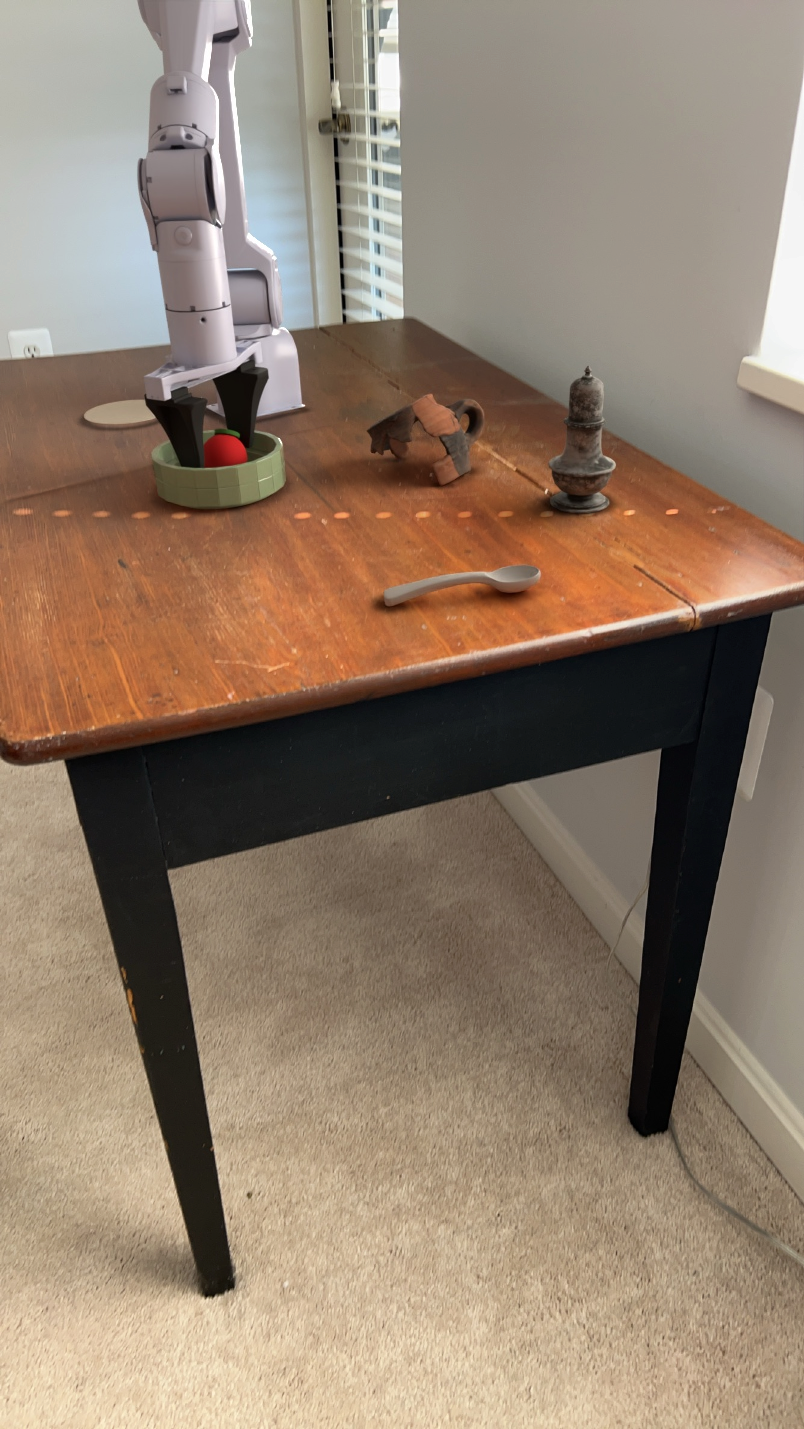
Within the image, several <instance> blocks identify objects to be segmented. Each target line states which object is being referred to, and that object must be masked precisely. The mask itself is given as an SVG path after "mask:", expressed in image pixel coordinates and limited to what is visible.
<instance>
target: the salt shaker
mask: <svg viewBox="0 0 804 1429" xmlns="http://www.w3.org/2000/svg"><path fill="white" fill-rule="evenodd" d="M583 372H584V374H583V375H582V376H580V377H577V378H576V379H574V380H573V381H572V382H571V383H570V386H569V393H568V394H569V395H568V412H567V413H568V414H567V416H566V417H564V419H563V424H565V426H566V432H565V434H566V435H565V445H564V449H563V452H562V454H560V455H557V456H554V457H552V458H551V459H550V460H549V461H548V464H547V465H548V468H549V469H550V470H551V477H552V480H553V483H554V485H555V486H556V487H557V488H558V490H560V491H558V492H557V493H555V494H554V495H553V496H551V497H550V499H549V503H550V505H551V506H552V507H553V508H554V509H556V510H558V511H561V512H566V513H572V514H592V513H596V512H600V511H603V510H605V509H606V508H608V507H609V506H610V499H609V498H608V497H607V496H606V495H604V494H603V493H601V491H602V490H603V489H605V488H606V487H607V485H608V483H609V481H610V479H611V477H612V472H613V471H614V470H615V469H616V466H617V465H616V462H615V460H614V459H612V458H610V457H608V456H606V455H603V449H602V434H603V426H604V425H606V423H607V420H606V418H605V417H603V410H604V409H603V407H604V395H605V386H604V383H603V381H602V380H601V379H599V378H598V377H595V376H594V375H593V374H591V373H592V372H593V370H592V367H590V365H587V366H586V367H585V369H584V370H583Z"/></svg>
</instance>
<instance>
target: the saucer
mask: <svg viewBox="0 0 804 1429" xmlns="http://www.w3.org/2000/svg"><path fill="white" fill-rule="evenodd" d="M83 418H84V419H85V420H86V421H88V422H90V423H95V424H99V425H127V424H135V423H141V422H146V421H151V420H154V419H156V417H155V416H154V414H153V413H152V412H151V411H150V410H149V408H148V407H147V406H146V403H145V399H127V400H118V401H112V402H108V403H104V404H100V405H97V406H94V407H92V408H90V409H88V410H87V411H85V412H84V414H83Z"/></svg>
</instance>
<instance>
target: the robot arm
mask: <svg viewBox="0 0 804 1429" xmlns="http://www.w3.org/2000/svg"><path fill="white" fill-rule="evenodd" d="M136 1H137V6H138V10H139V14H140V16H141V19H142V22H143V23H144V24H145V26H146V28H147V30H148V31H149V33H150V35H151V37H152V39H153V40H154V42H155V44H156V45H157V47H158V49H159V50H160V51H161V52H162V54H161V55H162V65H163V74H162V75H161V76H159V77H158V78H157V79H156V80H155V81H154V83H153V84H152V85H151V90H150V93H149V94H150V95H149V117H148V140H147V141H148V143H147V153H146V157H145V158H143V157H140V158H138V160H137V169H136V180H137V190H138V196H139V201H140V205H141V210H142V212H143V216H144V219H145V222H146V226H147V230H148V235H149V243H150V246H151V250H152V251H153V252H155V253H156V258H157V265H158V271H159V278H160V285H161V292H162V297H163V298H162V299H163V303H164V304H163V305H164V311H165V317H166V324H167V331H168V338H169V344H170V349H171V353H170V354H167V355H165V356H164V358H165V363H164V364H163V365H161V366H160V367H158V368H157V369H155V370H154V371H152V372H150V373H148V374H145V375H143V376H142V377H143V383H144V388H145V393H144V395H143V397H144V400H145V403H146V406H147V407H148V408H149V410H150V411H151V412H152V413H153V414H154V416H155V417H156V418H155V419H156V420H157V421H158V423H159V424H160V426H161V427H162V429H163V431H164V432H165V434H166V436H167V438H168V440H170V442H171V444H172V446H173V448H174V451H175V453H176V455H177V458H178V460H179V463H180V465H181V467H189V468H204V465H205V456H204V444H203V431H204V422H205V414H206V409H208V410H210V411H212V412H214V413H216V414H217V415H220V416H222V417H223V418H224V420H225V425H226V429H228V430H232V431H235V432H238V433H239V434H240V437H239V439H238V440H239V441H240V442H241V443H242V444H243V446H244V447H245V448H250V447H252V445H253V439H254V431H255V430H256V424H257V417H262V416H266V415H271V414H276V413H277V414H278V413H281V412H285V411H291V410H294V409H299V408H304V407H306V405H305V404H303V399H302V389H301V388H302V386H301V377H300V376H301V375H300V365H299V355H298V349H297V346H296V343H295V340H294V337H293V335H292V334H291V332H289V330H287V329H286V328H285V327H281V325H282V324H283V322H284V300H283V289H282V288H283V287H282V281H281V274H280V273H279V266H278V265H279V264H278V258H277V257H276V256H275V253H274V252H273V250H272V249H271V248H269V247H268V246H266V245H265V244H263V243H262V242H260V241H259V240H257V239H256V238H255V237H253V236H252V235H251V234H250V227H249V218H248V209H247V200H246V189H245V181H244V170H243V162H242V161H243V160H242V152H241V142H240V132H239V122H238V114H237V105H236V96H235V84H234V74H235V68H236V67H235V66H236V59H237V56H238V55H240V54H241V53H243V52H244V51H247V50H248V49H250V48H251V47H252V39H251V38H252V37H253V23H252V12H251V0H136ZM210 380H211V381H212V382H213V384H214V386H215V395H216V402H217V403H213V404H208V402H209V400H208V399H207V398H206V397H205V398H204V397H198V396H193V393H192V392H189V389H190V388H193V387H195V386H198V385H200V384H203V383H206V382H208V381H210Z"/></svg>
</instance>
